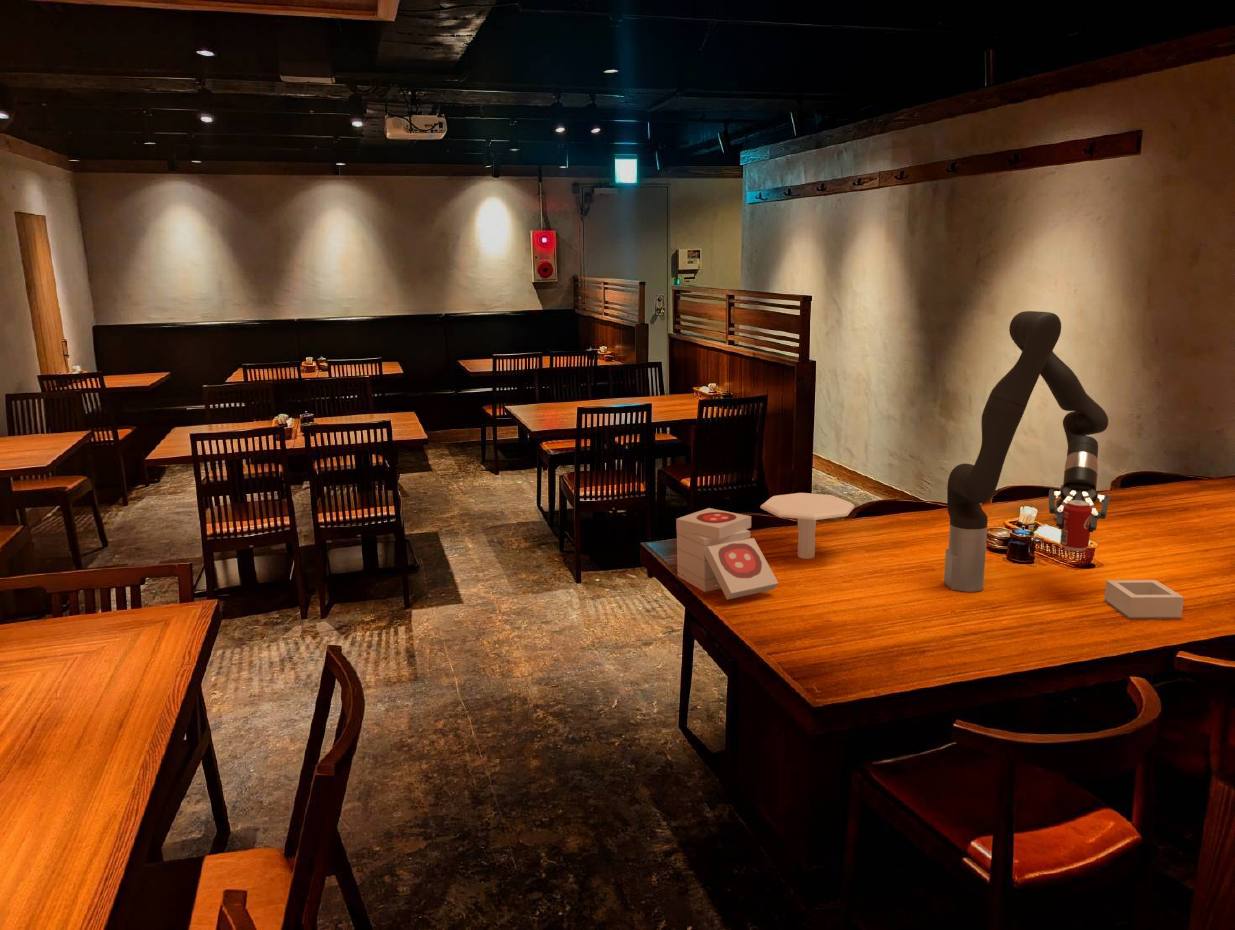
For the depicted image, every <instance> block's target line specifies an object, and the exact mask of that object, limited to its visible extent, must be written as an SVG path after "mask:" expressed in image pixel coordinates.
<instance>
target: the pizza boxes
mask: <svg viewBox="0 0 1235 930" xmlns="http://www.w3.org/2000/svg"><path fill="white" fill-rule="evenodd" d="M675 521H676V522H675V523H676V525H675V526H676V529H675V530H676V557H677V559H676V562H677V566H676V567H677V569H676V570H677V572H678V573H677V572H676V573H677V575H676V576H677V577H678V578H680V579H682V580H684V581H685V582H687V583H688V584H690V585H692V586H694V587H696V588H698V589H699V590H701V591H703V592H705V593H706V592H711V591H716V590H720V589H721V590H722V593H723V595H724V596H725V598H726V600H727V601H728V600H732V599H737V598H742V597H746V596H751V595H755V594H759V593H764V592H769V591H773V590H775V589H776V587H777V586H778V585H779V582H778V579H777V578H776V576H775V574H774V573H773V570H772V569H771V566H770V565H769V563H768V561H767V560H766V558H765V556H764V554H763V552H762V551H761V548H760V547H759V544H757V541H756V539H755V538H754V537H752V538H751V530H748V529H751V528H752V516H751V515H745V514H741V513H736V512H730V511H726V510H720V509H715V508H711V507H708V508H705V509H702V510H699V511H695V512H692V513H690V514H686V515H684V516H680V517H678V518H676V520H675ZM679 573H680V574H679ZM681 574H682V575H684V576H685V577H684V576H682V575H681ZM686 577H687V578H686ZM689 579H690V580H689ZM691 580H692V581H691ZM693 581H694V582H693ZM696 583H697V584H696ZM698 584H699V585H698ZM700 585H701V586H700ZM715 585H718V586H715ZM711 586H713V587H711ZM703 587H704V588H703ZM706 587H708V588H706Z"/></svg>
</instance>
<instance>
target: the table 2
mask: <svg viewBox="0 0 1235 930" xmlns="http://www.w3.org/2000/svg"><path fill="white" fill-rule="evenodd" d="M854 508H855V504H853V503H852V502H851V501H848V500H845V499H843V498H841V497H837V496H835V495H831V494H821V493H819V494H818V493H811V492H810V493H808V492H796V493H789V494H788V493H787V494H779V495H778V494H777V495H773V496H772V497H770V498H769V499H767V500H766V501H765V502H764V503H762V504H761V505H760V509H761V510H763V511H766V512H767V513H770V514H772V515H774V516H776V517H780V518H788V519H789V518H790V519H797V532H798V539H797V557H798V558H800V559H806V560H810V559H814V558H815V556H816V554H815V553H816V537H815V536H816V529H817V528H816V526H817V520H824V519H825V520H826V519H832V518H833V519H834V518H840V517H847V516H849V514H850V513H851V512H852V511H853V510H854ZM799 553H800V554H801V555H800V554H799ZM813 554H814V555H813ZM806 555H807V556H806ZM808 555H809V556H808Z"/></svg>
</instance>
